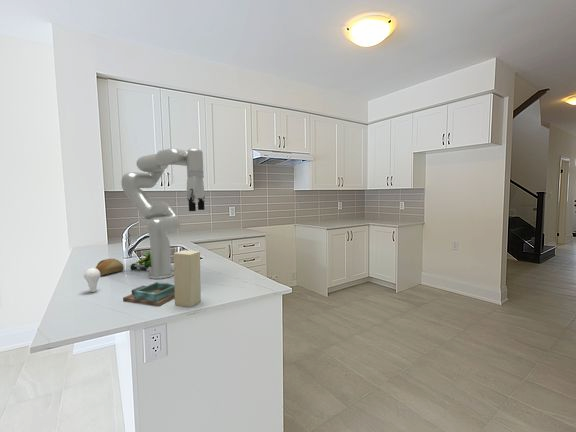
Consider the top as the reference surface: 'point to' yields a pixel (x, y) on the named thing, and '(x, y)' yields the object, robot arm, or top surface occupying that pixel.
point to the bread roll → (109, 266)
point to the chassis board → (152, 294)
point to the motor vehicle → (142, 262)
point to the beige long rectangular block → (187, 278)
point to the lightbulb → (92, 278)
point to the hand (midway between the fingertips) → (197, 210)
